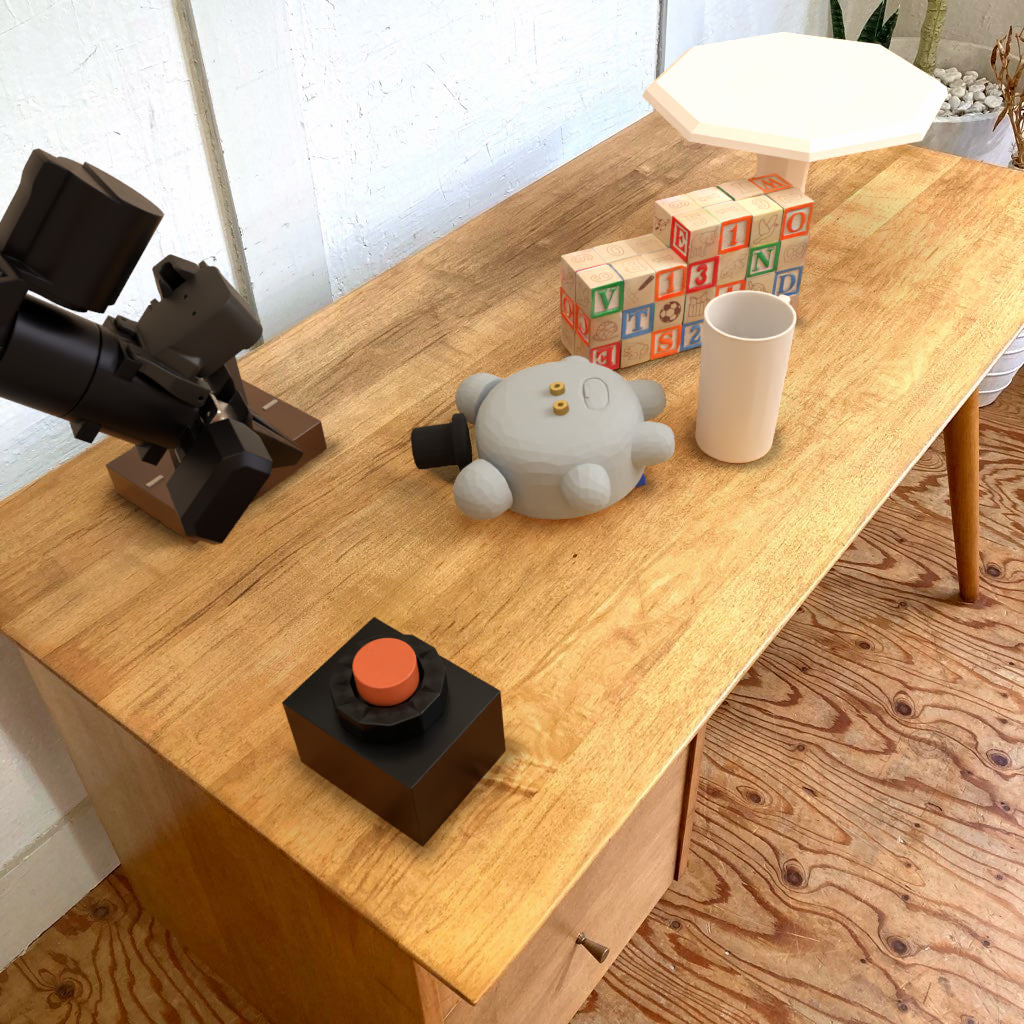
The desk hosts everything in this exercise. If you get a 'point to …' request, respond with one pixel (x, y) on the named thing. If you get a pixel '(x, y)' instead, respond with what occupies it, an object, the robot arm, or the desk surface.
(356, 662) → the button
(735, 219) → the stack of blocks
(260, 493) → the dial panel
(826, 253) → the desk surface
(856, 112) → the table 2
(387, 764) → the button box
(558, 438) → the figurine
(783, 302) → the mug
